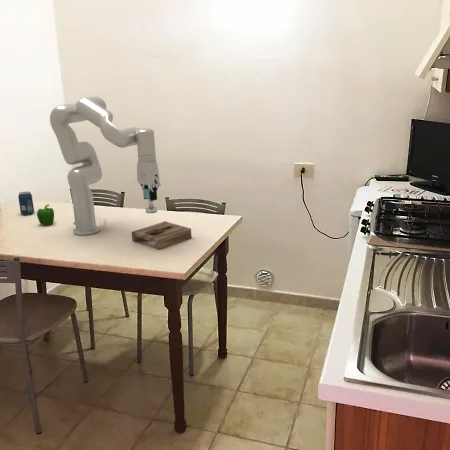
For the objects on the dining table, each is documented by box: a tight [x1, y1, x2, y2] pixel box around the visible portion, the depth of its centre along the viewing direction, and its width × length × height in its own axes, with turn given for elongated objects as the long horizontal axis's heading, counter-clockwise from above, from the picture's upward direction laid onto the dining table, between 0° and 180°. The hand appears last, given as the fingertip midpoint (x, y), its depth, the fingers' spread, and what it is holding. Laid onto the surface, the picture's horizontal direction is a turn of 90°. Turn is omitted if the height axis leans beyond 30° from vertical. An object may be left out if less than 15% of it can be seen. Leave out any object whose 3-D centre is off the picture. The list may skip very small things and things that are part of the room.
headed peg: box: [142, 186, 158, 214], centre depth 222 cm, size 5×5×10 cm
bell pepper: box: [36, 203, 55, 226], centre depth 255 cm, size 8×8×10 cm
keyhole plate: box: [130, 221, 192, 251], centre depth 230 cm, size 18×20×4 cm
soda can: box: [17, 191, 35, 217], centre depth 274 cm, size 7×7×12 cm
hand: (150, 199), depth 222 cm, fingers closed on headed peg, 4 cm apart
